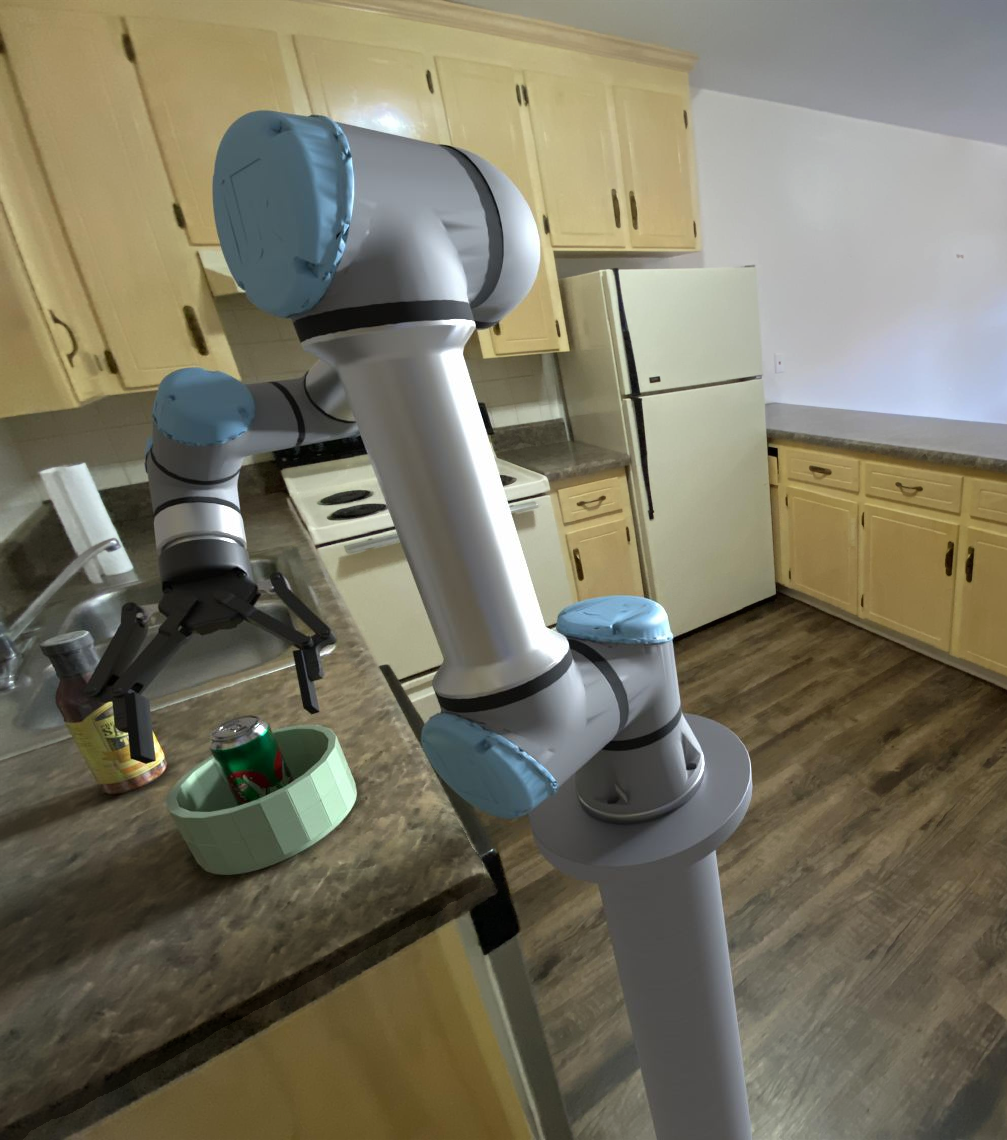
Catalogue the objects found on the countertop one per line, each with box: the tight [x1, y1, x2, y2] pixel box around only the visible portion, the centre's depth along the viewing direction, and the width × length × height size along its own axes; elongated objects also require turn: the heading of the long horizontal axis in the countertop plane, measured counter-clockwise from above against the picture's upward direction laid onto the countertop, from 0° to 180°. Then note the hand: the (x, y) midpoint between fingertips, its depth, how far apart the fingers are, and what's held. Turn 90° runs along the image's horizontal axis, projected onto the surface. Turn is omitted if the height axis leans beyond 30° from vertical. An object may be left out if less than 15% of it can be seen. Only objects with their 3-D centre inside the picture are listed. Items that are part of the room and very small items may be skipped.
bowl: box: [165, 724, 358, 876], centre depth 68 cm, size 15×15×8 cm
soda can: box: [208, 714, 294, 806], centre depth 67 cm, size 5×5×12 cm
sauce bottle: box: [39, 630, 168, 795], centre depth 74 cm, size 6×6×20 cm
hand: (231, 734), depth 62 cm, fingers open, 13 cm apart
